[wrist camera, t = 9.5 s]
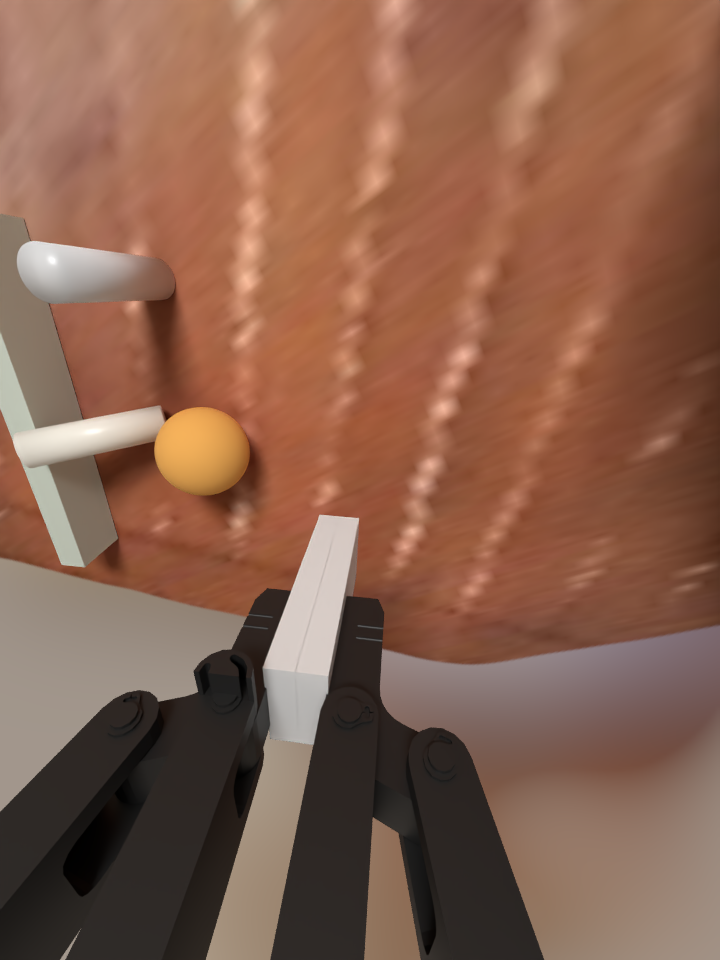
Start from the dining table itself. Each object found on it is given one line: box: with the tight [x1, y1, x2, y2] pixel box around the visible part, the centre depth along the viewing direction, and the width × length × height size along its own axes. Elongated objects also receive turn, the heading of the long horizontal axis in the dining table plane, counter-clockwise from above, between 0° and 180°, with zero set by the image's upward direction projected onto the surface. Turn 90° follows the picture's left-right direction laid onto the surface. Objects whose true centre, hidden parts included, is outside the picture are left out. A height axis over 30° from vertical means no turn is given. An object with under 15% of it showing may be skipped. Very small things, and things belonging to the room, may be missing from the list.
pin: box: [13, 405, 167, 468], centre depth 26 cm, size 2×2×8 cm
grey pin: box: [17, 241, 175, 304], centre depth 20 cm, size 2×2×8 cm
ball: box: [154, 407, 250, 495], centre depth 26 cm, size 6×6×6 cm
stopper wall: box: [0, 214, 118, 567], centre depth 27 cm, size 24×2×4 cm, turn 177°
